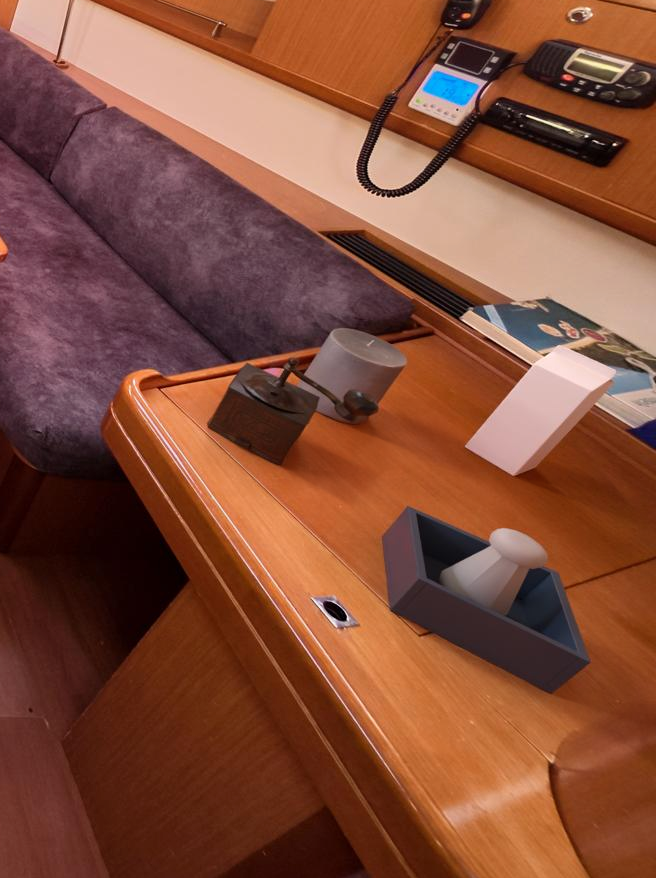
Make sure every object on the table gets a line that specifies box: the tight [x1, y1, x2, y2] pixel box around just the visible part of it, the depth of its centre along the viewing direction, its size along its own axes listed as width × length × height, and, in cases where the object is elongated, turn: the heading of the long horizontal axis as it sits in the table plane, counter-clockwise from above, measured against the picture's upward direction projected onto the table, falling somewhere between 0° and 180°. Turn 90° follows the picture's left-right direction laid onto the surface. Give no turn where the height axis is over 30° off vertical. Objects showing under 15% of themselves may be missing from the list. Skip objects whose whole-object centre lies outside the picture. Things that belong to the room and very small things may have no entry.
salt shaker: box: [439, 527, 549, 616], centre depth 78 cm, size 6×6×13 cm
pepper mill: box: [206, 356, 380, 466], centre depth 100 cm, size 16×11×18 cm
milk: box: [464, 345, 618, 477], centre depth 98 cm, size 6×6×22 cm
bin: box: [381, 505, 591, 695], centre depth 80 cm, size 14×14×7 cm
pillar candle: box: [296, 327, 408, 425], centre depth 109 cm, size 10×10×15 cm
